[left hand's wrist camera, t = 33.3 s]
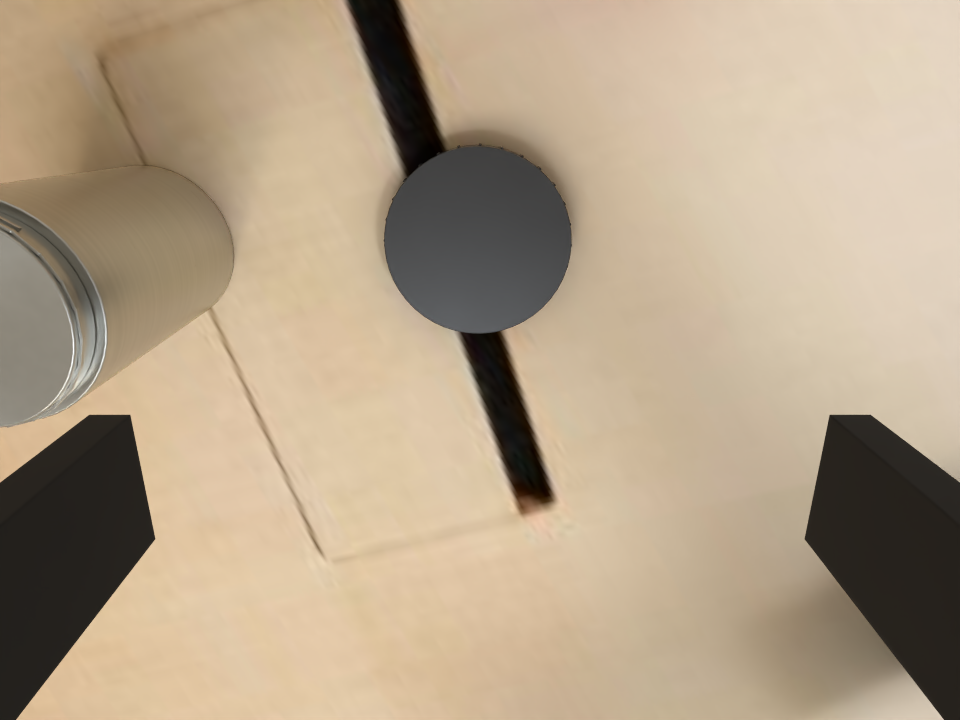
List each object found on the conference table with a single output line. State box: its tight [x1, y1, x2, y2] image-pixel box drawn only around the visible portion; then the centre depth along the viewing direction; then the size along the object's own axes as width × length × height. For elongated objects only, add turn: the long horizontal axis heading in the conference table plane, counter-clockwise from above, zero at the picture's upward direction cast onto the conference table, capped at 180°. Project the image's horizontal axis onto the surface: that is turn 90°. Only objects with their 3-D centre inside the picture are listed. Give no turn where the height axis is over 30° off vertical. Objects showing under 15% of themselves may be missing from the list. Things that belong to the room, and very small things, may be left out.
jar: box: [0, 165, 234, 427], centre depth 30 cm, size 9×9×15 cm
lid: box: [384, 143, 572, 333], centre depth 36 cm, size 10×10×2 cm
